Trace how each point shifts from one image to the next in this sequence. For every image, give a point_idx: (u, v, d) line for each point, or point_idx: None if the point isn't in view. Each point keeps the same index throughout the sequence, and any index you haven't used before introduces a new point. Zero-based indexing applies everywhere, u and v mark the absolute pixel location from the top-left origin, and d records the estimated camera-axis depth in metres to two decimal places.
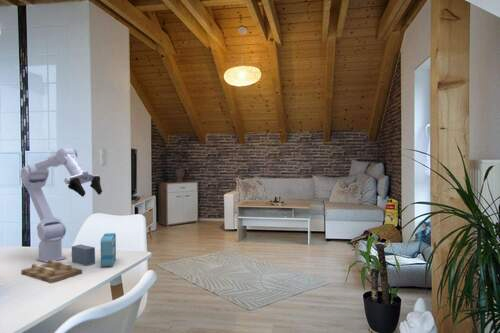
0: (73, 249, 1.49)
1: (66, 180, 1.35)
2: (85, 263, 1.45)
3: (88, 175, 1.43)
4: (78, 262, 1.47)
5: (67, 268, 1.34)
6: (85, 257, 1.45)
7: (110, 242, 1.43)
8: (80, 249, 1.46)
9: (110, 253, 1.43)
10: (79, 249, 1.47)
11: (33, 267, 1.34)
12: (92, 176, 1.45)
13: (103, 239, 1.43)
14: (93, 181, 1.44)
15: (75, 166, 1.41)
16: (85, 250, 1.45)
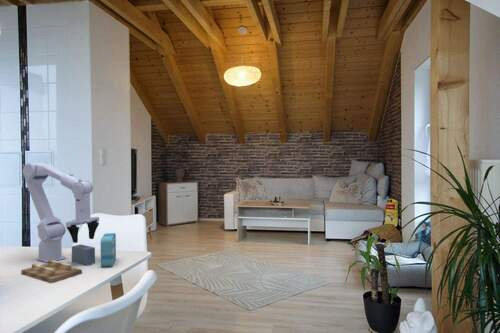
0: (73, 249, 1.49)
1: (67, 225, 1.42)
2: (85, 263, 1.45)
3: (89, 220, 1.49)
4: (78, 262, 1.47)
5: (67, 268, 1.34)
6: (85, 257, 1.45)
7: (110, 242, 1.43)
8: (80, 249, 1.46)
9: (110, 253, 1.43)
10: (79, 249, 1.47)
11: (33, 267, 1.34)
12: (93, 219, 1.51)
13: (103, 239, 1.43)
14: (91, 224, 1.51)
15: (82, 210, 1.46)
16: (85, 250, 1.45)
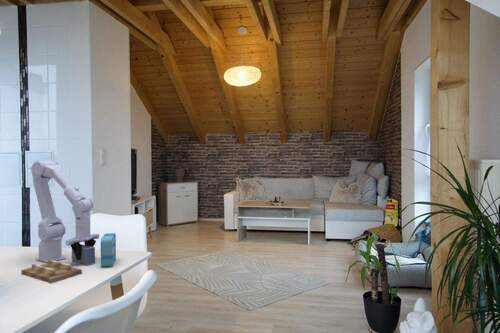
0: None
1: (67, 243, 1.42)
2: (85, 263, 1.45)
3: None
4: (78, 262, 1.47)
5: (67, 268, 1.34)
6: (85, 257, 1.45)
7: (110, 242, 1.43)
8: None
9: (110, 253, 1.43)
10: None
11: (33, 267, 1.34)
12: None
13: (103, 239, 1.43)
14: (88, 242, 1.50)
15: (83, 228, 1.46)
16: (85, 250, 1.45)
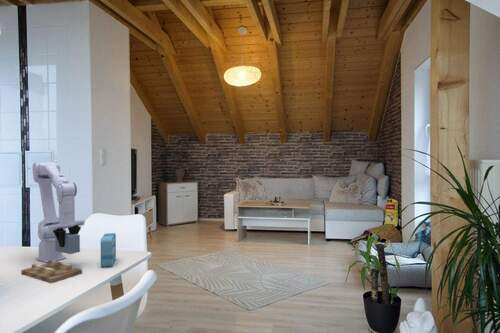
0: None
1: (49, 229, 1.34)
2: (69, 251, 1.37)
3: (74, 224, 1.41)
4: (62, 250, 1.40)
5: (67, 268, 1.34)
6: (69, 245, 1.37)
7: (110, 242, 1.43)
8: None
9: (110, 253, 1.43)
10: None
11: (33, 267, 1.34)
12: (77, 223, 1.44)
13: (103, 239, 1.43)
14: (72, 229, 1.43)
15: (66, 213, 1.38)
16: (69, 237, 1.37)
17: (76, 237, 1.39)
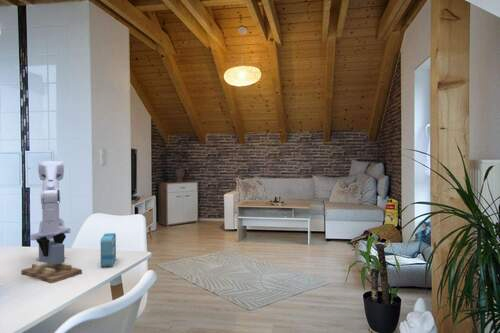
0: None
1: (32, 238, 1.28)
2: (53, 262, 1.31)
3: (58, 233, 1.35)
4: (46, 261, 1.33)
5: (67, 268, 1.34)
6: (53, 255, 1.31)
7: (110, 242, 1.43)
8: (48, 246, 1.32)
9: (110, 253, 1.43)
10: None
11: (33, 267, 1.34)
12: (62, 231, 1.37)
13: (103, 239, 1.43)
14: (57, 237, 1.36)
15: (50, 221, 1.32)
16: (53, 247, 1.30)
17: (60, 247, 1.32)
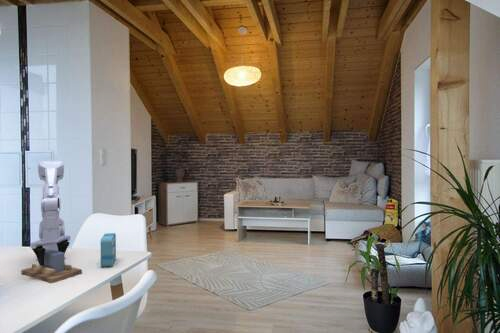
0: None
1: (32, 246, 1.28)
2: None
3: None
4: None
5: (67, 268, 1.34)
6: (53, 264, 1.31)
7: (110, 242, 1.43)
8: (48, 255, 1.32)
9: (110, 253, 1.43)
10: (47, 255, 1.33)
11: (33, 267, 1.34)
12: None
13: (103, 239, 1.43)
14: (61, 244, 1.37)
15: (50, 229, 1.32)
16: (53, 256, 1.31)
17: (60, 255, 1.33)
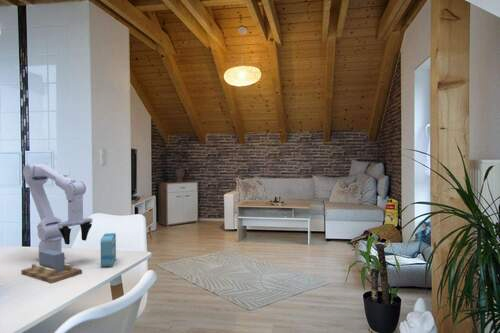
0: (41, 255, 1.35)
1: (59, 226, 1.40)
2: None
3: None
4: None
5: (67, 268, 1.34)
6: (53, 264, 1.31)
7: (110, 242, 1.43)
8: (48, 255, 1.32)
9: (110, 253, 1.43)
10: (47, 255, 1.33)
11: (33, 267, 1.34)
12: (86, 221, 1.49)
13: (103, 239, 1.43)
14: (84, 226, 1.50)
15: (75, 211, 1.44)
16: (53, 256, 1.31)
17: (60, 255, 1.33)
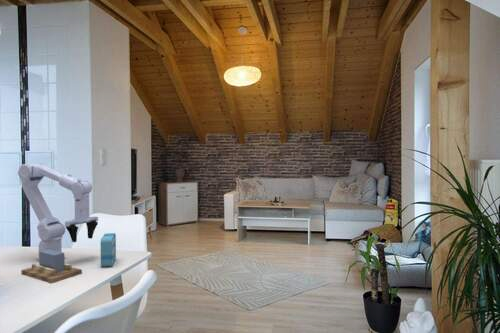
0: (41, 255, 1.35)
1: (66, 224, 1.44)
2: None
3: (88, 220, 1.51)
4: None
5: (67, 268, 1.34)
6: (53, 264, 1.31)
7: (110, 242, 1.43)
8: (48, 255, 1.32)
9: (110, 253, 1.43)
10: (47, 255, 1.33)
11: (33, 267, 1.34)
12: (92, 219, 1.53)
13: (103, 239, 1.43)
14: (90, 224, 1.53)
15: (82, 210, 1.47)
16: (53, 256, 1.31)
17: (60, 255, 1.33)
